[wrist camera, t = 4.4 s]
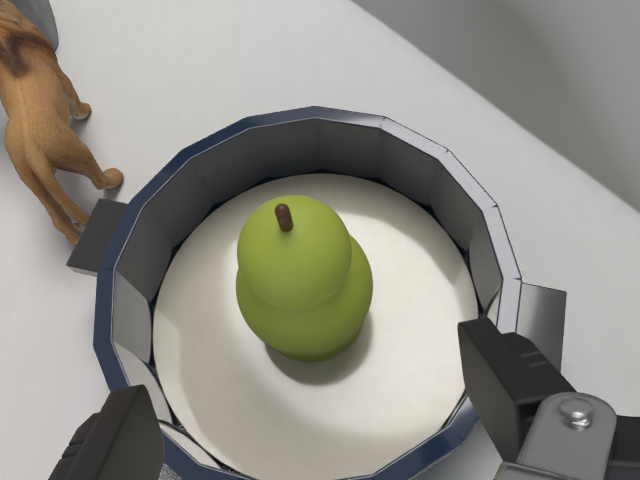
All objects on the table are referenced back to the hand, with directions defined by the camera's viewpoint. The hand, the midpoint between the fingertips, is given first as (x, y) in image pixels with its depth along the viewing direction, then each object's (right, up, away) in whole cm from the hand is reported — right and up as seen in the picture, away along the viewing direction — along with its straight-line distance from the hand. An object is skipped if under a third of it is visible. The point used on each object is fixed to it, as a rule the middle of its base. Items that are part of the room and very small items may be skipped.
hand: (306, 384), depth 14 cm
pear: (0, 0, +13) cm, 13 cm away
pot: (0, 0, +13) cm, 14 cm away
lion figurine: (-15, +8, +19) cm, 26 cm away
